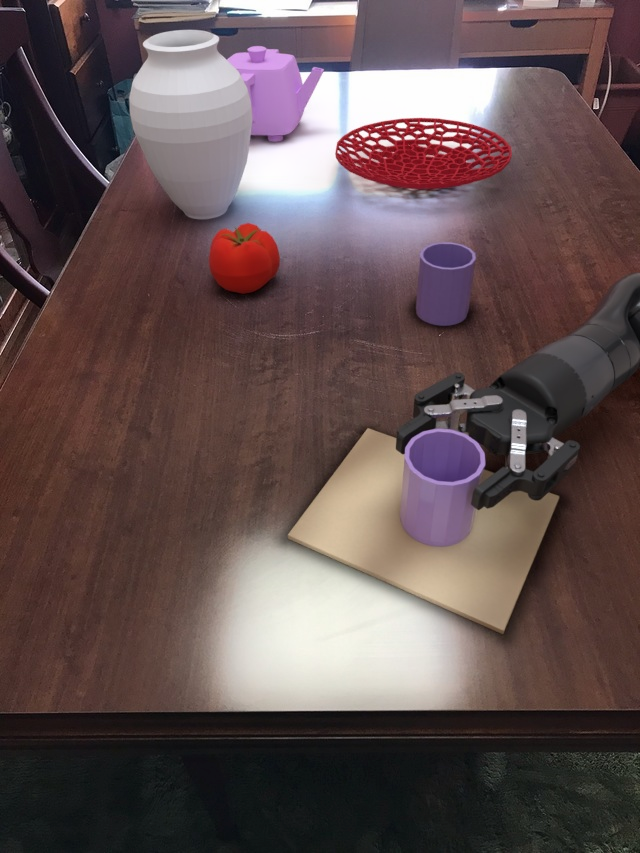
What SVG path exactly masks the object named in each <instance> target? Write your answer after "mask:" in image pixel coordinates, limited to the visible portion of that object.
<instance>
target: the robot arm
mask: <svg viewBox="0 0 640 853" xmlns="http://www.w3.org/2000/svg"><path fill="white" fill-rule="evenodd" d="M639 368H640V272H632V273H628V274H626V275H624V276H622V277H620V278H619V279H617V280H616V281H615V282H614V283H613V284H612V285H611V286H610V287H609V288H608V289H607V290H606V291H605V292H604V294H603V295H602V296H601V298H600V300H599V301H598V302H597V304H596V306H595V307H594V309H593V310H592V312H591V314H590V315H589V316H588V318H587V319H585V321H584V322H583V323H581V324H580V325H579V326H577V328H575V329H573V330H572V331H571V332H569V333H567V334H566V335H564V336H562V337H560V339H557V340H555V341H553V342H550V343H548V344H546V345H544V346H543V347H541V348H539V349H538V350H536V351H535V352H534V353H532V354H530V355H529V356H527V357H526V358H524V359H522V360H521V361H520V362H518V363H517V364H515V365H514V366H512V367H510V368H509V369H507V370H505V371H504V372H502V373H501V374H500V375H499V376H498V377H497V378H496V379H495V380H494V381H493V382H492V383H491V384H490V385H489V386H488V387H485V388H484V387H483V388H478V389H476V390H475V389H474V388H473V387H471V386H470V385H468V384H466V383H465V380H466V375H465V374H463V373H462V372H454V373H452V374H450V375H449V376H447V377H444V378H443V379H441V380H439V381H438V382H436V383H433V384H431V385H430V386H428V387H426V388H425V389H423V390H420V391H419V392H418V393H416V394H415V395H414V397H413V398H414V399H413V410H412V419H411V420H409V421H407V422H405V423H404V424H403V425H401V426H399V428H398V429H397V430H396V437H395V438H396V450H397V451H398V452H400V453H401V454H405V447H406V446H407V444H408V443H409V441H410V440H411V438H413V437H414V436H416V435H418V434H419V433H421V432H423V431H428V430H432V429H451V430H455V431H458V432H461V433H464V434H466V435H468V436H469V437H471V438H472V439H474V440H475V441H476V442H478V444H479V445H482V446H484V448H485V449H486V450H487V451H488V452H490V453H491V454H493V456H497V455H500V456H505V458H504V466H502V467H500V468H499V469H498V470H497V471H495V472H493V473H494V474H493V475H492V476H490V477H489V478H488V479H486V480H485V481H484V482H482V483H481V484H480V485H478V486H477V487H476V488H475V490H474V492H473V495H472V501H471V505H472V506H473V507H475V508H476V509H477V510H480V509H482V508H483V507H486V508H487V509H488V508H492V507H494V506H495V505H496V504H498V503H499V502H500V501H501V500H503V499H504V498H505V497H507V496H508V495H509V494H510V493H512V492H518V491H522V492H525V493H528V496H529V498H530V499H532V500H535V501H538V500H541V499H542V498H543V497H544V496H545V495H546V494H547V493H548V492H549V493H550V492H551V491H552V490H553V489H554V488H555V487H556V486H557V485H558V484H559V483H560V482H561V481H562V480H563V479H564V478H565V477H566V476H567V475H568V474H569V473H571V471H572V470H574V467H575V465H576V462H577V459H578V456H579V452H580V449H581V444H580V443H579V442H577V441H575V440H567V441H565V442H562V441H560V440H558V439H557V438H558V437H560V435H562V434H563V433H564V432H566V431H567V430H568V429H569V428H571V427H572V426H573V425H574V424H576V423H577V422H578V421H580V420H581V419H583V418H584V417H587V416H588V415H589V414H590V413H591V412H592V411H593V410H595V408H596V407H597V406H598V405H599V404H600V403H601V402H602V401H603V400H604V399H605V397H607V396H608V395H610V394H611V393H612V392H614V391H615V390H616V389H617V388H618V387H619V386H621V385H622V384H624V383H625V382H626V381H628V379H630V378H631V377H632V376H633V375H634V374H635V373H636V372H637V370H638V369H639ZM465 413H466V421H465V422H461V423H460V419H461V415H463V414H465ZM439 418H440V419H441V418H447V419H446V420H438V419H439ZM544 452H546V453H547V456H546V460H545V461H544V462H543V463H541V464H540V465H539V466H538V467H537V468H536V469H535V470H534V471H533V470H530V469H528V468H526V455H528V454H529V455H531V454H540V453H541V454H542V453H544Z"/></svg>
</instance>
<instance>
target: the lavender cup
mask: <svg viewBox="0 0 640 853" xmlns="http://www.w3.org/2000/svg"><path fill="white" fill-rule="evenodd" d="M484 470H486V454H485V451H484V450H483V448H482V447H481V444H479V443H478V442H476V441H475V440H474V439H472V438H471V437H469V436H468V435H466V434H464V433H461V432H458V431H455V430H451V429H432V430H428V431H423V432H421V433H419V434H418V435H416V436H414V437H413V438H411V440H410V441H409V443H408V444H407V446H406V447H405V455H404V468H403V480H402V492H401V505H400V521H401V524H402V526H403V528H404V530H405V531H406V532H407V533H408V534H409V535H410V536H411V537H412V538H413V539H415V540H417V541H418V542H421V543H423V544H426V545H430V546H436V547H444V546H451V545H454V544H457V543H459V542H460V541H462V540H463V539H465V538H466V537H467V536H468V535H469V533H470V532H471V529H472V527H473V523H474V520H475V515H476V510H477V509H476V508H475V507H473V506H472V505H471V501H472V495H473V492H474V490H475V488H476V487H477V486H478V485H480V484H481V483H482V479H483V474H484Z"/></svg>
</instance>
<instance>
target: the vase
mask: <svg viewBox="0 0 640 853" xmlns="http://www.w3.org/2000/svg"><path fill="white" fill-rule="evenodd" d="M219 42H220V37H219V36H218V35H216V34H215V33H212V32H209V31H205V30H201V29H178V30H170V31H164V32H159V33H157V34H154V35H152V36H150V37H148V38H147V39H145V40H144V41H143V42H142V46H143V48H144V49H145V51H146V52H147V59H146V60H145V61H144V63H143V64H142V65H141V67H140V69H139V70H138V72H137V73H136V75H135V77H134V78H133V80H132V83H131V88H130V93H129V98H128V102H129V104H128V105H129V115H130V121H131V126H132V131H133V133H134V135H135V137H136V140H137V143H138V145H139V147H140V149H141V152H142V153H143V156H144V158H145V161H146V163H147V165H148V167H149V169H150V171H151V173H152V174H153V176H154V177H155V179H156V180H157V182H158V183H159V185H160V186H161V188H162V189H163V191H164V192H165V193H166V195H167V196H168V198H169V199H170V200H171V201H172V203H173V204H174V205H175V206H176V207H177V208H178V209H179V210H181V211H182V212H183V214H184V215H185V216H186V217H188V218H190V219H193V220H209V219H210V220H211V219H215V218H218V217H221V216H222V215H224V214H225V213H226V212H228V209H229V206H230V205H232V202H233V201H234V198H235V196H236V194H237V192H238V189H239V187H240V184H241V181H242V178H243V176H244V173H245V168H246V165H247V163H248V157H249V150H250V142H251V136H252V135H251V127H252V108H251V100H250V97H249V93H248V89H247V87H246V85H245V83H244V81H243V79H242V77H241V75H240V73H239V72H238V70H237V69H236V68H234V67H233V66H232V65H231V64H230V63H229V62H228V61H227V59H226V57H224V56H223V55H222V54H221V53H220V52H219V51H218V45H219Z"/></svg>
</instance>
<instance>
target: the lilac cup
mask: <svg viewBox="0 0 640 853" xmlns="http://www.w3.org/2000/svg"><path fill="white" fill-rule="evenodd" d="M476 260H477V257H476V252H475V251H474V250H473V249H472V248H470V247H468V246H466V245H465V244H461V243H457V242H452V241H451V242H449V241H440V242H434V243H431V244H428V245H426V246H424V247H423V248H422V249H421V250H420V252H419V262H418V263H419V264H418V273H417V274H418V276H417V289H416V300H415V301H416V302H415V313H416V315H417V317H418V318H419V319H420V320H422V321H423V322H425V323H428V324H430V325H434V326H441V327H442V326H443V327H446V326H447V327H448V326H453V325H454V326H455V325H457V324H459V323H462V322H464V321H465V320H466V318H467V317H468V315H469V314H468V313H469V311H470V310H469V309H470V303H471V296H472V288H473V281H474V274H475V267H476Z"/></svg>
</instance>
